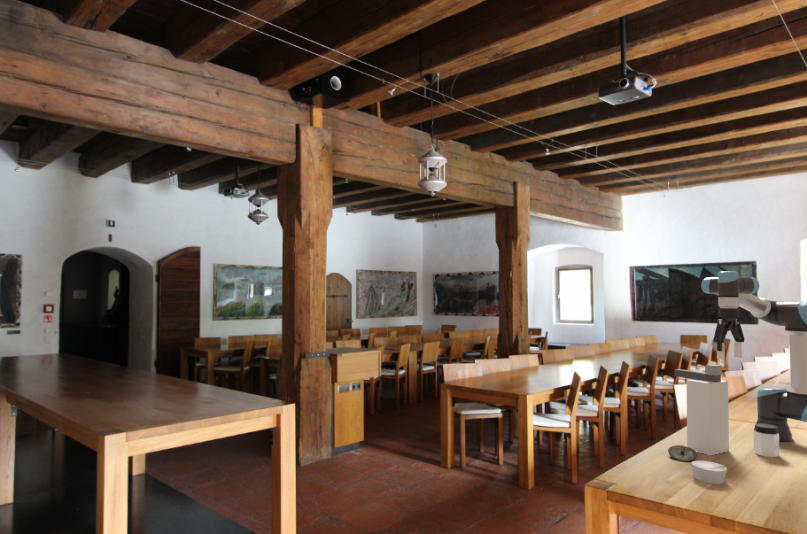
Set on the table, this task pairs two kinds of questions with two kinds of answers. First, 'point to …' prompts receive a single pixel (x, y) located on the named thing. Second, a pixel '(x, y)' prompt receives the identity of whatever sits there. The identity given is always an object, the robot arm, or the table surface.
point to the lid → (682, 453)
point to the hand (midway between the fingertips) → (729, 358)
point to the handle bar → (711, 373)
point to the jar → (766, 440)
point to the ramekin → (709, 472)
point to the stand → (707, 416)
